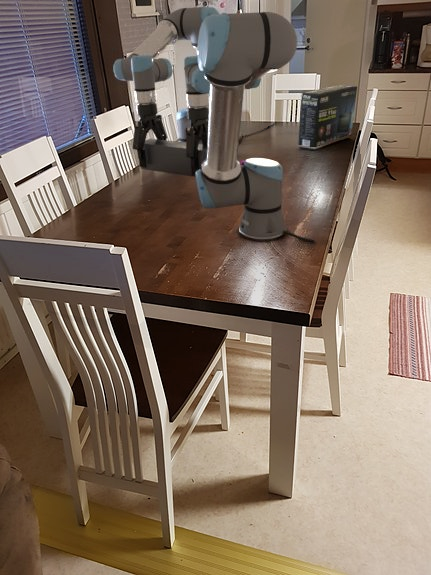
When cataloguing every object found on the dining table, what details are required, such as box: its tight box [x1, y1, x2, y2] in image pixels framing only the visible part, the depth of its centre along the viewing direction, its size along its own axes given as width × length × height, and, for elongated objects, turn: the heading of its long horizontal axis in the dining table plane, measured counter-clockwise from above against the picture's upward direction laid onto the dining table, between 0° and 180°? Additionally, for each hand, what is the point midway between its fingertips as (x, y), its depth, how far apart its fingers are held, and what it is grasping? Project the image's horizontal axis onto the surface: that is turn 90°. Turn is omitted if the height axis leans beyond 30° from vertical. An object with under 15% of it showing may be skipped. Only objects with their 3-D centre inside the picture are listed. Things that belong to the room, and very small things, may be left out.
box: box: [140, 138, 208, 178], centre depth 171 cm, size 28×8×10 cm, turn 60°
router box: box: [297, 84, 358, 151], centre depth 238 cm, size 36×11×27 cm, turn 134°
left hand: (152, 163), depth 178 cm, fingers open, 11 cm apart
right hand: (201, 172), depth 168 cm, fingers closed on box, 7 cm apart
